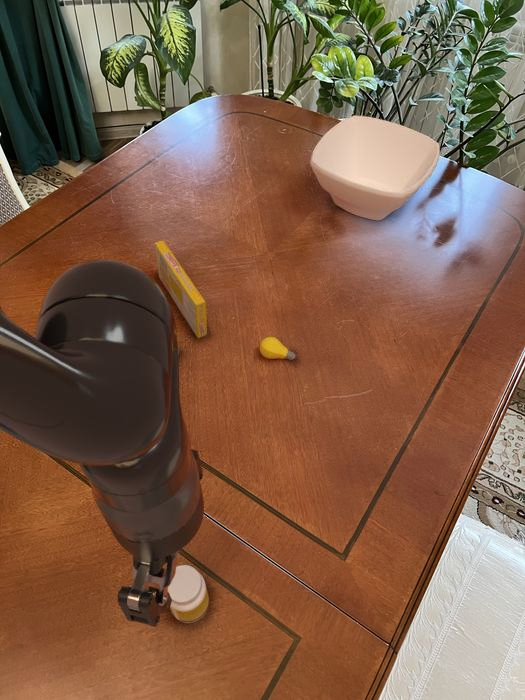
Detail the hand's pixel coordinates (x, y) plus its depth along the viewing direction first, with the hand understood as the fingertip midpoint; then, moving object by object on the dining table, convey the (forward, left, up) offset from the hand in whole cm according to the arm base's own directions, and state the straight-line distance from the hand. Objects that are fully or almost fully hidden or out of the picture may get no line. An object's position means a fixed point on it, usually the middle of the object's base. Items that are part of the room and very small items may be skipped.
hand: (174, 557), depth 56 cm
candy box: (+46, +15, -18) cm, 52 cm away
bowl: (+81, -13, -18) cm, 84 cm away
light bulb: (+39, -3, -18) cm, 43 cm away
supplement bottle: (0, 0, -18) cm, 18 cm away
